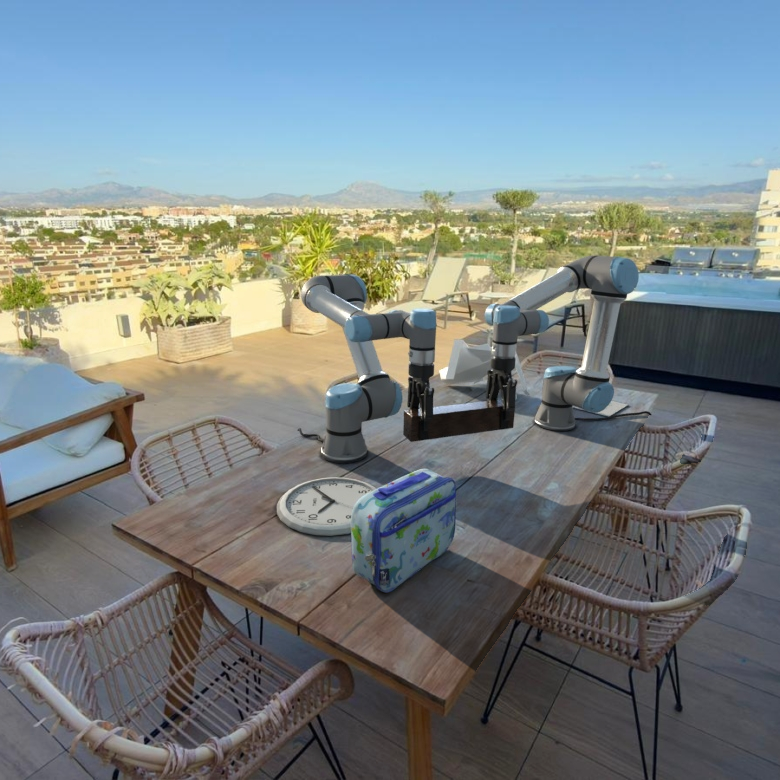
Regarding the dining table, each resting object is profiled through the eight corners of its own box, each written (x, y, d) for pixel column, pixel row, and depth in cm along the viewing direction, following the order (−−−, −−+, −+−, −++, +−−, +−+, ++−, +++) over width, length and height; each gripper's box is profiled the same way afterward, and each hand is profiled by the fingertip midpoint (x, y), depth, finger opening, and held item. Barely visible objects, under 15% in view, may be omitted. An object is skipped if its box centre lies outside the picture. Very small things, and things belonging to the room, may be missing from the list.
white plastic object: (461, 429, 252) (437, 405, 227) (444, 352, 274) (420, 323, 250) (535, 404, 240) (518, 377, 215) (510, 326, 262) (492, 293, 237)
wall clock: (392, 527, 129) (268, 531, 127) (391, 533, 130) (269, 537, 127) (383, 473, 158) (282, 475, 155) (383, 478, 158) (282, 480, 156)
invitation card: (608, 416, 214) (573, 407, 224) (608, 416, 214) (573, 408, 224) (628, 404, 229) (594, 396, 238) (628, 405, 229) (594, 397, 238)
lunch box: (379, 605, 105) (380, 513, 99) (344, 580, 112) (343, 493, 106) (459, 552, 123) (464, 471, 116) (425, 533, 130) (428, 456, 124)
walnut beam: (503, 421, 174) (505, 398, 172) (513, 428, 169) (515, 404, 166) (403, 434, 162) (403, 410, 159) (410, 442, 156) (411, 416, 154)
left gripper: (397, 355, 160) (395, 426, 167) (423, 372, 143) (420, 449, 150) (419, 354, 163) (417, 423, 170) (447, 369, 146) (443, 445, 153)
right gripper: (477, 350, 170) (473, 416, 177) (510, 364, 153) (504, 437, 160) (497, 348, 173) (492, 414, 180) (531, 362, 156) (524, 434, 163)
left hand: (418, 435), depth 160 cm, fingers closed on walnut beam, 6 cm apart
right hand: (497, 425), depth 170 cm, fingers closed on walnut beam, 6 cm apart
